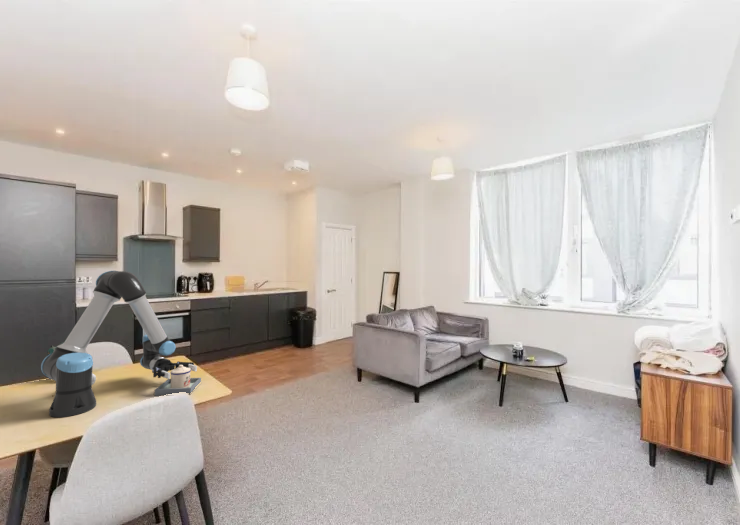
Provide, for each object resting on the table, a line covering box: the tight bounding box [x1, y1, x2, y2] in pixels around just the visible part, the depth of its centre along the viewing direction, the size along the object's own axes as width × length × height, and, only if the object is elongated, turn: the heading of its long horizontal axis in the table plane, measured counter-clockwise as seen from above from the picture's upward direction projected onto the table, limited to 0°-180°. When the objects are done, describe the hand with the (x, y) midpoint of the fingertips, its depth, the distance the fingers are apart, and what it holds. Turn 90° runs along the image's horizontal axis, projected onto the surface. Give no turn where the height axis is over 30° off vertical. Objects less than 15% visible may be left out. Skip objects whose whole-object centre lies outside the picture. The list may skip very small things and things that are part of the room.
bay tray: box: [154, 377, 202, 397], centre depth 167 cm, size 16×16×3 cm
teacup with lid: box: [169, 365, 192, 389], centre depth 168 cm, size 12×9×12 cm
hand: (183, 372), depth 165 cm, fingers open, 13 cm apart
